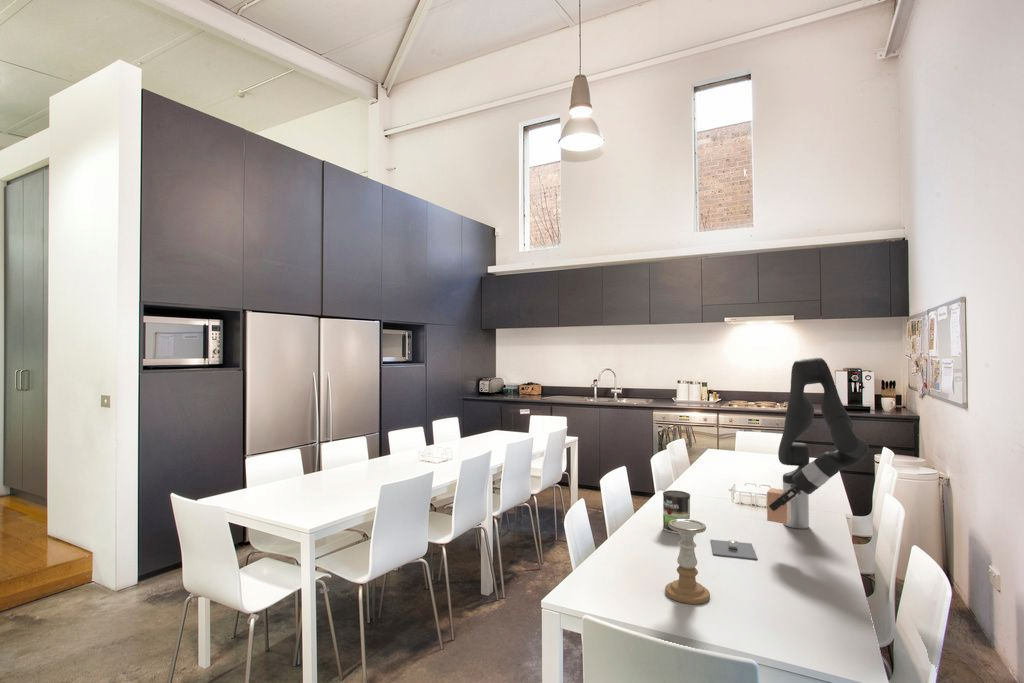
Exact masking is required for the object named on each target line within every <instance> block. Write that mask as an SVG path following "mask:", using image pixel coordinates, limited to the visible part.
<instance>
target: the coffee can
mask: <svg viewBox="0 0 1024 683" xmlns="http://www.w3.org/2000/svg"><path fill="white" fill-rule="evenodd" d="M662 496H663V498H662V501H663V505H662V507H663V510H662V511H663V514H662V515H663V516H662V518H663V520H662V522H663V523H662V524H663V525H662V529H663V531H665V532H668V533H671V534H675V535H676V534H677V535H678V534H679V533H678V531H675V530H673V529H671V528H670V527H669V526H668V523H669V521H671V520H674V519H690V518H691V494H690V493H689V492H686V491H684V490H683V491H682V490H672V489H671V490H664V491H663V492H662ZM690 520H691V519H690ZM679 535H680V534H679Z"/></svg>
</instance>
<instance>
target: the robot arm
mask: <svg viewBox="0 0 1024 683" xmlns="http://www.w3.org/2000/svg"><path fill="white" fill-rule="evenodd" d="M815 384H820V385H821V386H822V388H823V396H822V400H821V401H822V402H821V404H820V407H821V414H822V418H823V419H824V421H825V422H826V425H827V426H828V428H829V431H830V435H831V439H832V443H833V444H834V446H835V448H836V450H835V451H825V452H823V453H821V455H819V456H818V457H817V458H815V459H814V460H812V461H811V462H810V448H809V445H808V443H804V442H795V440H797V439H798V438H799V437H800V436H802V435H804V433H806V432H807V431H808V430H809V429H810V428H811V426H812V424H813V419H814V414H815V408H814V406H813V404H812V402H811V400H809V398H808V397H807V396H806V394H805V386H807V385H815ZM789 390H790V391H789V397H788V403H787V407H786V412H785V420H784V428H783V433H782V436H781V439H780V443H779V446H778V452H777V454H778V455H777V456H778V458H777V459H778V460H779V463H780V464H782V465H785V466H792V467H794V466H795V467H797V468H796V469H794V470H792V471H789V472H786V473H784V474H783V475H782V490H785V491H784V492H783V493H782V496H780V497H779V498H777V500H776V501H775V502H773V503H772V504H771V505H770V506H769V507H770V508H771V509H772V510H773V511H775V510H776V509H778V508H779V507H780V506H781V505H785V503H787V502H790V501H791V520H790V521H789V523H788V524H783V525H784V526H786V527H788V528H793V529H800V530H801V529H808V528H809V527H810V526H809V525H810V524H809V523H810V519H809V518H810V516H809V515H810V512H809V511H810V508H809V507H810V505H809V504H810V503H809V501H810V500H809V499H810V498H809V495H812V494H813V493H814V492H815V491H816V490H817V489H819V488H821V487H822V486H823V485H825V484H826V483H828V481H829V480H830V479H831V478H833V476H835V475H836V474H837V473H839V472H840V471H842V470H843V469H846V468H848V467H851V466H853V465H855V464H857V463H859V462H861V461H862V460H863V459H864V458H866V456H867V455H868V454H869V452H870V446H869V444H868V443H867V441H866V440H864V439H862V438H861V437H858V435H856V434H855V433H854V430H853V426H854V424H853V420H852V419H851V417H850V415H849V413H848V411H847V410H846V408H845V406H844V404H843V402H842V400H841V398H840V395H839V392H838V389H837V386H836V383H835V381H834V378H833V376H832V372H831V370H830V367H829V365H828V364H827V361H826V360H824V359H823V358H821V357H812V358H802V359H798V360H795V361H794V362H793V364H792V366H791V373H790V389H789ZM782 497H784V498H785V500H786V501H785V502H784V501H783V500H782V499H781V498H782Z"/></svg>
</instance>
